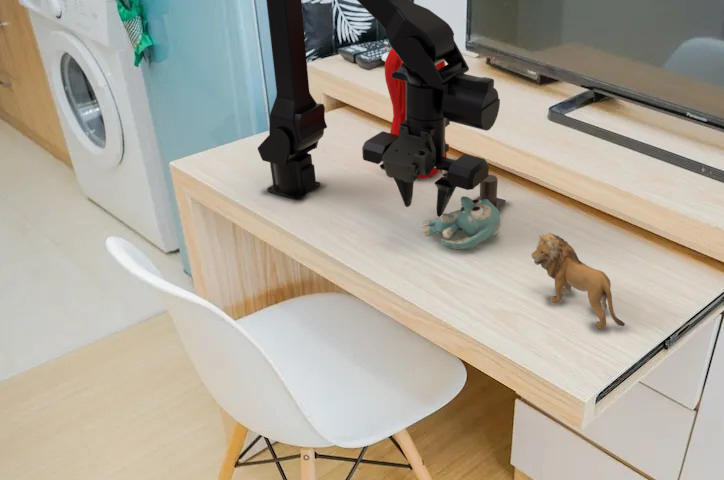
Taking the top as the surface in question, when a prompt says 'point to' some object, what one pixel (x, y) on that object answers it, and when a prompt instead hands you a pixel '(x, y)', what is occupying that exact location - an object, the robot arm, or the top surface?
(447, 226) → the stuffed animal
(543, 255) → the lion figurine
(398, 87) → the water bottle
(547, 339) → the top surface
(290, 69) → the robot arm
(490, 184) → the peg
